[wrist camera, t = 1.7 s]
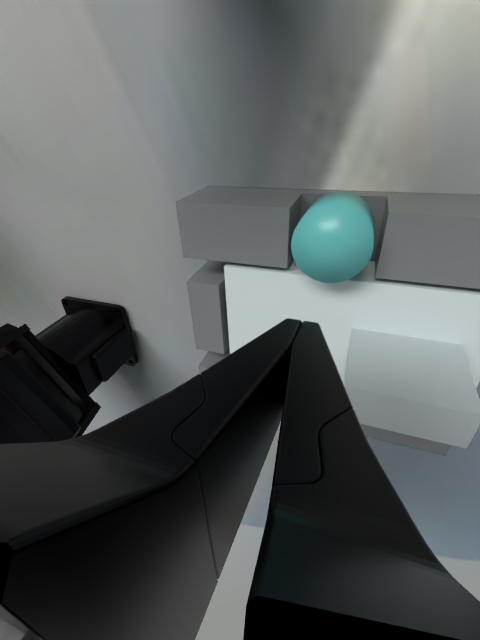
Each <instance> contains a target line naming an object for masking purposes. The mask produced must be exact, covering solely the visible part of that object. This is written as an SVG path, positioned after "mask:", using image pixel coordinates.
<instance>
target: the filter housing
mask: <svg viewBox="0 0 480 640" xmlns="http://www.w3.org/2000/svg"><path fill="white" fill-rule="evenodd" d="M334 191H340V190H310V189H279V188H249V187H218V186H207V187H205V188H203V189H201V190H199V191H197V192H195V193H193V194H191V195H189V196H187V197H185V198H183V199H181V200H179V201H177V202H176V207H177V214H178V221H179V228H180V235H181V243H182V250H183V257H185V258H194V259H204V260H208V262H207V263H206V264H205V265H204V266H203V267H202V268H201V269H200V270H199V271H198V272H196V273H195V274H194V275H193V276H192V277H191V278H190V279H189V280H188V281H187V285H188V293H189V300H190V307H191V314H192V321H193V328H194V335H195V342H196V349H201V350H206V351H208V353H207V354H206V356H205V357H204V359H203V360H202V362H201V363H200V365H199V371H200V374H201V372H203V371H204V370H206V369H208V368H209V367H211V366H212V365H214V364H215V363H217V362H219V361H220V360H222V359H223V358H225V357H226V356H228V355H230V348H229V333H228V319H227V304H226V290H225V276H224V266H225V265H226V264H227V262H232V263H241V264H250V265H260V266H269V267H278V268H288V266H289V264H290V262H291V260H292V258H293V255H292V250H291V241H292V236H293V233H294V230H295V228H296V226H297V225H298V223H299V222H300V220H301V219H302V217H303V216H304V214H305V213H306V211H307V209H308V208H309V207H310V205H311V204H312V203H313V202H314V201H315V200H316V199H318V198H319V197H321V196H322V195H324V194H327V193H330V192H334ZM347 192H351V193H354V194H356V195H358V196H360V197H361V198H362V199H364V200H365V201H366V202H367V204H368V205H369V206H370V208H371V210H372V213H373V216H374V246H373V252H372V256H371V258H370V260H369V261H376V265H375V278H381V279H390V280H400V281H409V282H418V283H428V284H437V285H447V286H456V287H465V288H475V289H480V195H462V194H431V193H401V192H370V191H347ZM360 425H361V427H362V430H363V432H364V434H365V436H367V437H371V438H375V439H379V440H384V441H388V442H392V443H396V444H400V445H404V446H408V447H412V448H416V449H420V450H424V451H428V452H432V453H437V454H441V455H445V456H446V454H447V452H448V450H449V448H450V446H451V445H449V444H445V443H440V442H436V441H432V440H428V439H423V438H419V437H415V436H411V435H406V434H402V433H398V432H394V431H389V430H385V429H381V428H377V427H372V426H368V425H364V424H360Z"/></svg>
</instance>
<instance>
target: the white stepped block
mask: <svg viewBox="0 0 480 640" xmlns="http://www.w3.org/2000/svg"><path fill="white" fill-rule="evenodd" d="M375 265H376V261H369V262H368V264H367V265H366V266H365V268H364V269H363V270H362V271H361V272H360V273H359V274H357V275H356V276H354V277H353V278H351V279H348V280H346V281H343V282H338V283H325V282H320V281H317V280H314V279H312V278H310V277H309V276H307V275H306V274H305V273H303V272H302V271H301V270H300V268H299V267H298V266H297V264H296V263H295V260H294V258H292V260H291V262H290V264H289V266H288V268H278V267H269V266H260V265H250V264H241V263H232V262H227V264H226V265H225V266H224V276H225V290H226V304H227V319H228V333H229V348H230V354H231V353H233V352H234V351H236V350H238V349H239V348H241V347H242V346H244V345H245V344H247V343H249V342H250V341H252V340H253V339H255V338H256V337H258V336H260V335H261V334H263V333H264V332H266V331H267V330H269V329H271V328H272V327H274V326H275V325H277V324H279V323H280V322H282V321H283V320H285V319H287V318H290V319H297V320H301V321H302V322H303V321H310V322H316V323H318V324H319V325H320V327H321V330H322V332H323V335H324V337H325V340H326V342H327V345H328V347H329V350H330V352H331V355H332V357H333V359H334V362H335V364H336V367H337V369H338V372H339V374H340V377H341V379H342V382H343V384H344V387H345V389H346V391H347V394H348V396H349V399H350V401H351V404H352V406H353V409H354V411H355V413H356V416H357V418H358V420H359V423H360V424H364V425H368V426H372V427H377V428H381V429H385V430H389V431H394V432H398V433H402V434H406V435H411V436H415V437H419V438H423V439H428V440H432V441H436V442H440V443H445V444H449V445H453V446H457V447H461V448H466V449H467V447H468V445H469V444H470V442H471V440H472V438H473V436H474V434H475V433H476V431H477V429H478V427H479V425H480V399H479V396H478V393H477V390H476V388H477V386H478V384H479V382H480V289H475V288H465V287H456V286H447V285H437V284H428V283H418V282H409V281H400V280H390V279H381V278H375Z"/></svg>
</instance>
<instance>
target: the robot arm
mask: <svg viewBox="0 0 480 640" xmlns="http://www.w3.org/2000/svg"><path fill="white" fill-rule="evenodd" d="M62 304H63V307H64V310H65V312H66V315H65V316H63V317H62V318H61V319H59V320H58V321H56V322H55V323H53V324H52V325H50V326H49V327H47V328H46V329H44V330H43V331H41V332H40V333H39V334H37V335H36V336H34V335H33V334H32V332H31V331H30V328H29V327H28V326H27V325H26V324H24V325H22V326H21V327H19V328H17V327H16V326H13V325H10V324H8V323H7V324H5V325H4V326H2V327H0V640H195V638H196V636H197V633H198V630H199V628H200V625H201V623H202V620H203V618H204V615H205V613H206V610H207V607H208V605H209V603H210V600H211V597H212V595H213V592H214V590H215V587H216V585H217V582H218V581H217V579H218V578H219V577H220V574H221V572H222V569H223V566H224V564H225V561H226V559H227V556H228V554H229V551H230V548H231V546H232V543H233V541H234V538H235V536H236V533H237V531H238V528H239V526H240V523H241V520H242V518H243V515H244V513H245V510H246V508H247V505H248V503H249V500H250V497H251V495H252V492H253V490H254V487H255V485H256V482H257V480H258V477H259V474H260V472H261V469H262V467H263V464H264V462H265V459H266V457H267V454H268V451H269V449H270V446H271V444H272V441H273V439H274V436H275V434H276V431H277V428H278V426H279V423H280V421H281V425H280V433H279V440H278V447H277V454H276V461H275V468H274V475H273V482H272V490H271V497H270V503H269V509H268V515H267V520H266V525H265V529H264V534H263V538H262V542H261V546H260V550H259V555H258V559H257V563H256V567H255V572H254V576H253V580H252V585H251V589H250V593H249V597H248V601H247V606H246V616H245V628H244V640H480V601H478V600H477V599H476V598H475V597H474V596H473V595H472V594H471V593H469V592H468V591H467V590H466V589H465V588H464V587H463V586H462V585H461V584H459V582H458V581H457V580H456V579H454V578H453V577H452V575H451V574H450V573H449V572H448V571H447V570H446V569H445V568H444V566H443V565H442V564H441V563H440V562H439V561H438V559H437V558H436V556H435V555H434V554H433V552H432V551H431V549H430V548H429V547H428V545H427V544H426V542H425V540H424V539H423V537H422V536H421V534H420V532H419V531H418V529H417V527H416V525H415V524H414V522H413V520H412V518H411V517H410V515H409V513H408V512H407V510H406V508H405V506H404V505H403V503H402V501H401V500H400V498H399V496H398V494H397V493H396V491H395V489H394V487H393V486H392V484H391V482H390V481H389V479H388V477H387V475H386V474H385V472H384V470H383V468H382V467H381V465H380V463H379V461H378V459H377V458H376V456H375V454H374V452H373V450H372V448H371V446H370V445H369V443H368V441H367V438H366V436H365V434H364V432H363V430H362V427H361V425H360V423H359V420H358V418H357V416H356V413H355V411H354V409H353V406H352V404H351V401H350V399H349V396H348V394H347V391H346V389H345V387H344V384H343V382H342V379H341V377H340V374H339V372H338V369H337V367H336V364H335V362H334V359H333V357H332V355H331V352H330V350H329V347H328V345H327V342H326V340H325V337H324V335H323V332H322V330H321V327H320V325H319V324H318V323H316V322H310V321H303V322H302V321H301V320H297V319H290V318H287V319H285V320H283V321H282V322H280V323H279V324H277V325H275V326H274V327H272V328H271V329H269V330H267V331H266V332H264V333H263V334H261V335H260V336H258V337H256V338H255V339H253V340H252V341H250V342H249V343H247V344H245V345H244V346H242V347H241V348H239V349H238V350H236V351H234V352H233V353H231V354H230V355H228V356H226V357H225V358H223V359H222V360H220V361H219V362H217V363H215V364H214V365H212V366H211V367H209V368H208V369H206V370H204V371H203V372H201V374H198V375H196V376H195V377H193V378H192V379H190V380H188V381H187V382H185V383H183V384H182V385H180V386H178V387H177V388H175V389H173V390H172V391H170V392H168V393H166V394H165V395H163V396H161V397H159V398H157V399H155V400H153V401H152V402H150V403H148V404H146V405H144V406H142V407H140V408H138V409H136V410H134V411H132V412H130V413H128V414H126V415H124V416H122V417H120V418H118V419H116V420H114V421H112V422H110V423H108V424H106V425H105V426H103V427H101V428H99V429H97V430H94V431H92V432H90V433H88V434H85V435H82V434H83V433H84V431H85V430H86V428H87V427H88V426H89V424H90V423H91V421H92V420H93V418H94V417H95V415H96V414H97V412H98V411H99V409H100V408H101V407H100V405H99V404H98V403H97V402H94V401H93V400H92V398H91V397H90V396H89V395H90V394H91V393H92V392H93V391H94V390H95V389H96V388H97V387H98V386H99V385H100V384H101V383H102V382H106V381H107V380H108V379H109V378H110V377H111V376H112V375H113V374H114V373H115V372H116V371H117V370H118V369H119V368H120V367H121V366H122V365H123V364H126V365H130V366H135V365H136V364H137V363H138V359H137V355H136V351H135V348H134V344H133V340H132V337H131V333H130V329H129V325H128V322H127V318H126V314H125V311H124V309H123V307H121V306H120V305H116V304H110V303H104V302H98V301H92V300H86V299H80V298H74V297H68V296H67V297H65V298H63V299H62Z"/></svg>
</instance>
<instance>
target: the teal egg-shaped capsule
mask: <svg viewBox="0 0 480 640" xmlns="http://www.w3.org/2000/svg"><path fill="white" fill-rule="evenodd" d="M373 246H374V216H373V213H372V210H371V208H370V206H369V205H368V204H367V202H366V201H365V200H364V199H362V198H361V197H360V196H358V195H356V194H354V193H351V192H347V191H334V192H330V193H327V194H324V195H322V196H321V197H319V198H318V199H316V200H315V201H314V202H313V203H312V204H311V205H310V207H309V208H308V209H307V211H306V213H305V214H304V216H303V217H302V219H301V220H300V222H299V223H298V225H297V226H296V228H295V230H294V233H293V236H292V241H291V250H292V255H293V258H294V260H295V263H296V264H297V266H298V267H299V268H300V270H301V271H302V272H303V273H305V274H306V275H307V276H309V277H310V278H312V279H314V280H317V281H320V282H325V283H338V282H343V281H346V280H348V279H351V278H353V277H354V276H356V275H357V274H359V273H360V272H361V271H362V270H363V269H364V268H365V266H366V265H367V264H368V262H369V260H370V258H371V256H372V252H373Z"/></svg>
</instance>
